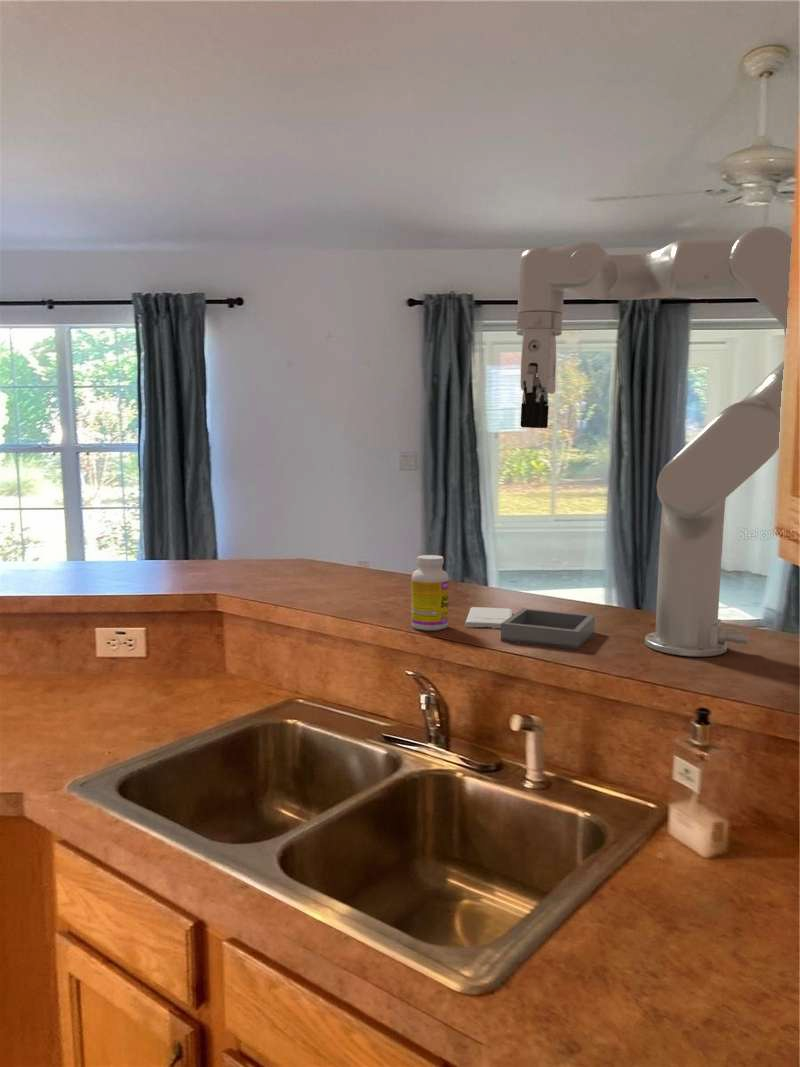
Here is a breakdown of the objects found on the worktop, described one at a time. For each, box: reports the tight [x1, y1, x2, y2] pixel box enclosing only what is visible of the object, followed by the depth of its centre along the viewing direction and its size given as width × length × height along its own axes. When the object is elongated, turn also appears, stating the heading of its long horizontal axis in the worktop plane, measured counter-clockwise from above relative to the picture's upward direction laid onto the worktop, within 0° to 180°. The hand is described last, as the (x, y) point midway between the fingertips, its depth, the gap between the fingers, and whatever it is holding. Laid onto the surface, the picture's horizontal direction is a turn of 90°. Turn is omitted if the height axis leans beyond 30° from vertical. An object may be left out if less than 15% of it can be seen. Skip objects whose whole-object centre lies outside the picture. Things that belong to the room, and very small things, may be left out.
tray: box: [500, 607, 596, 651], centre depth 135 cm, size 13×13×3 cm
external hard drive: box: [464, 606, 514, 629], centre depth 147 cm, size 2×8×12 cm
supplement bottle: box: [410, 554, 450, 632], centre depth 140 cm, size 7×7×13 cm
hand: (534, 427), depth 134 cm, fingers open, 9 cm apart
